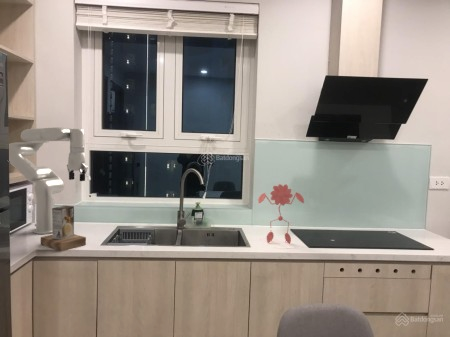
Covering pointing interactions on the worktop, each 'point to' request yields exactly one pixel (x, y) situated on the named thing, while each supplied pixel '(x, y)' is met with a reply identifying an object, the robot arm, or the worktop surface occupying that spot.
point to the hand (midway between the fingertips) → (76, 180)
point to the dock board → (63, 242)
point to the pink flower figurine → (282, 197)
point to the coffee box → (62, 222)
